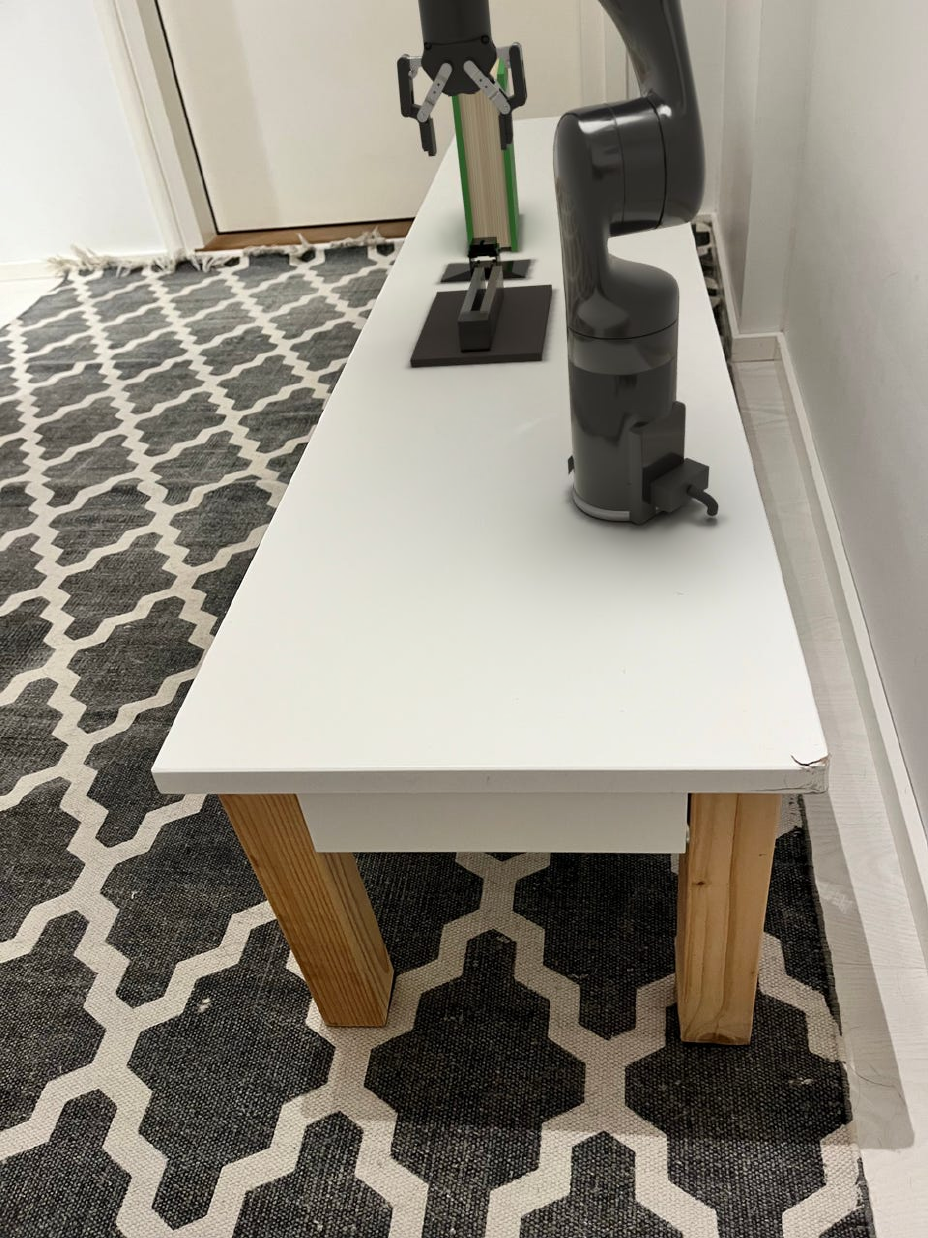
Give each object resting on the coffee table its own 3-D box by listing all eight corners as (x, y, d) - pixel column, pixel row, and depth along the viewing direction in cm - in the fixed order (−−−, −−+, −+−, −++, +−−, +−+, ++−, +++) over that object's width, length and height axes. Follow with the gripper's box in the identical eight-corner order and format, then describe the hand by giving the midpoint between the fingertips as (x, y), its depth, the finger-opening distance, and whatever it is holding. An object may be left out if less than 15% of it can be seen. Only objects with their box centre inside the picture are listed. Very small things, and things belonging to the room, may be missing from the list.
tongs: (490, 351, 116) (487, 319, 114) (461, 352, 117) (457, 321, 115) (504, 295, 130) (501, 265, 128) (478, 296, 131) (475, 267, 128)
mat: (541, 360, 115) (541, 352, 115) (411, 367, 118) (410, 359, 117) (552, 291, 132) (551, 283, 131) (437, 298, 135) (436, 291, 134)
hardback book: (517, 251, 146) (503, 73, 131) (469, 256, 147) (449, 79, 132) (519, 215, 160) (506, 50, 145) (475, 219, 160) (457, 56, 145)
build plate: (440, 283, 139) (435, 251, 137) (449, 266, 145) (445, 234, 142) (525, 278, 137) (522, 245, 134) (531, 260, 142) (528, 228, 139)
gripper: (380, 0, 100) (403, 165, 111) (515, -17, 98) (527, 154, 108) (393, -10, 106) (414, 149, 116) (521, -26, 104) (532, 137, 114)
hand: (468, 151), depth 112 cm, fingers open, 8 cm apart
